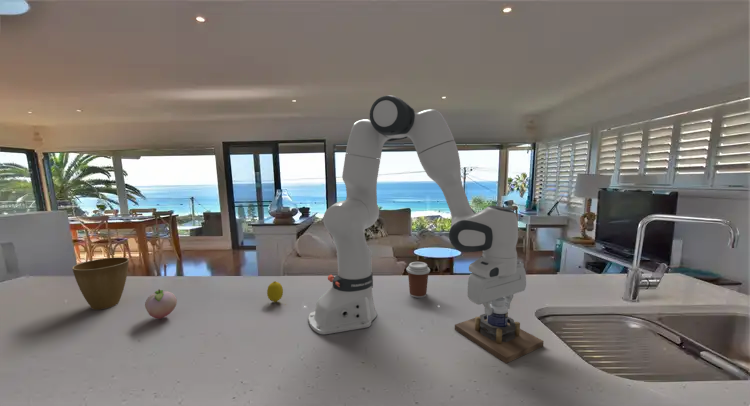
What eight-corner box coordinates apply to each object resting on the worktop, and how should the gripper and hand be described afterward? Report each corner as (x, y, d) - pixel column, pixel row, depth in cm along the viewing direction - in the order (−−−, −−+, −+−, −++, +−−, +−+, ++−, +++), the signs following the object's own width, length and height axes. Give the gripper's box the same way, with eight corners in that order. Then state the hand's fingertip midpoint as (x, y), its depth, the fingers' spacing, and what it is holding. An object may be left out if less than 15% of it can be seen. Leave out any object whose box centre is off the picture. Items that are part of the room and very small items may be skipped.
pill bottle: (509, 337, 80) (510, 303, 79) (488, 335, 81) (489, 301, 80) (504, 327, 85) (505, 295, 84) (485, 325, 86) (486, 293, 85)
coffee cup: (433, 292, 115) (433, 263, 114) (424, 301, 107) (424, 269, 106) (412, 288, 120) (412, 259, 118) (402, 296, 112) (402, 265, 111)
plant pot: (75, 319, 96) (69, 272, 95) (79, 304, 107) (74, 262, 106) (133, 305, 106) (129, 263, 104) (132, 293, 117) (128, 254, 115)
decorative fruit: (181, 318, 96) (178, 289, 95) (150, 328, 91) (147, 297, 89) (173, 309, 103) (171, 282, 102) (144, 318, 97) (141, 289, 96)
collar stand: (506, 363, 72) (506, 344, 72) (454, 329, 88) (454, 313, 87) (543, 346, 79) (544, 328, 79) (489, 317, 95) (489, 302, 94)
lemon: (264, 304, 106) (263, 283, 105) (274, 298, 111) (273, 277, 110) (276, 306, 104) (275, 285, 103) (286, 300, 109) (285, 279, 108)
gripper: (513, 255, 89) (511, 299, 90) (464, 266, 79) (463, 314, 81) (533, 261, 83) (531, 307, 85) (482, 273, 74) (480, 325, 75)
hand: (497, 311), depth 83 cm, fingers closed on pill bottle, 5 cm apart
